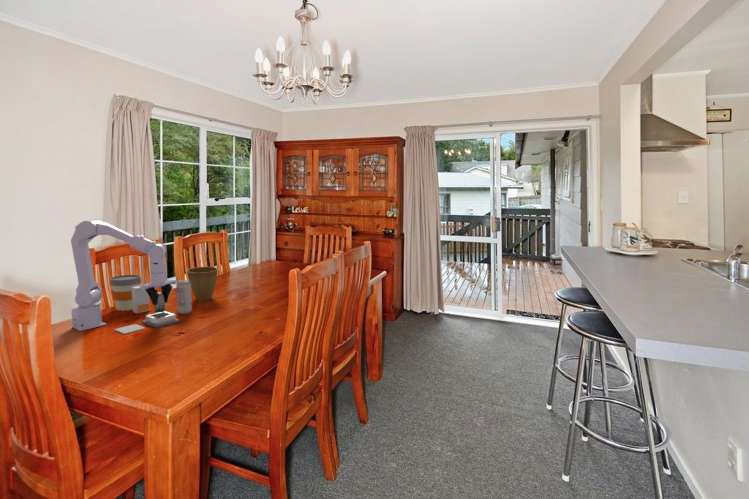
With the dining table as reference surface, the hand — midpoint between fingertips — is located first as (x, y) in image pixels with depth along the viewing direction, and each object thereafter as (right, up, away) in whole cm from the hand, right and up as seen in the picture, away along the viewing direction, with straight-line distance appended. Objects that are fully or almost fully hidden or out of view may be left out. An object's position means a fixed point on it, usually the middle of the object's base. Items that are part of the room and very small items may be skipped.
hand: (159, 303), depth 165 cm
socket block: (0, -8, +1) cm, 8 cm away
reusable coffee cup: (-27, -5, +20) cm, 34 cm away
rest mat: (-7, -9, -8) cm, 15 cm away
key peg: (0, -3, +1) cm, 3 cm away
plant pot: (+2, -3, +39) cm, 39 cm away
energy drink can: (+3, -7, +16) cm, 17 cm away
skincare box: (-17, -6, +15) cm, 24 cm away
